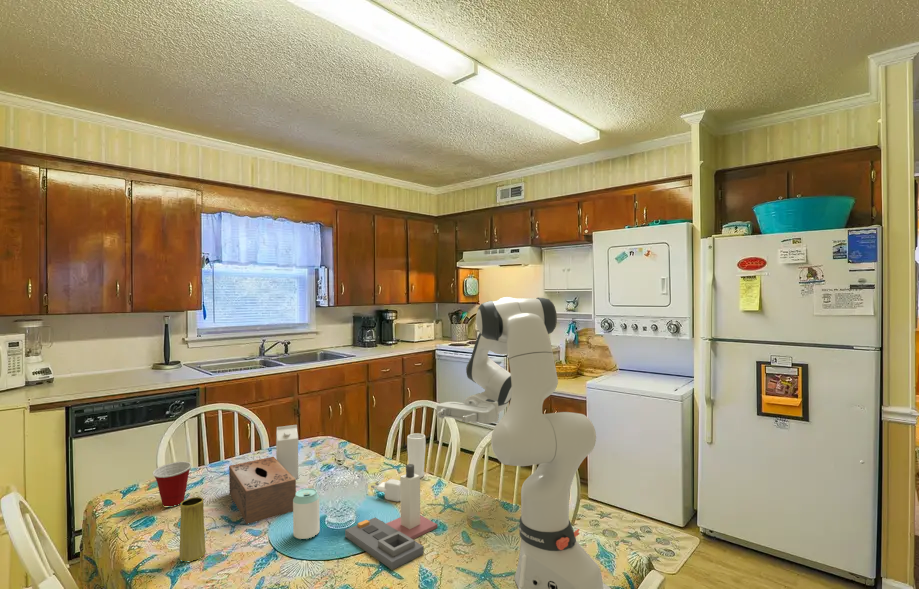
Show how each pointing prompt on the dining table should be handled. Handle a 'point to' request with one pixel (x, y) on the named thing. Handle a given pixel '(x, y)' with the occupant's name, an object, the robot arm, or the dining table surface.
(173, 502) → the plastic cup
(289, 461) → the milk carton
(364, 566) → the dining table surface
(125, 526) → the dining table surface
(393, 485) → the power adapter
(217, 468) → the dining table surface
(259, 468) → the tissue box cover
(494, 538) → the dining table surface
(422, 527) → the rubber mat
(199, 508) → the vase
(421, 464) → the drinking glass
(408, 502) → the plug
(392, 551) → the power strip
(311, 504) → the can
